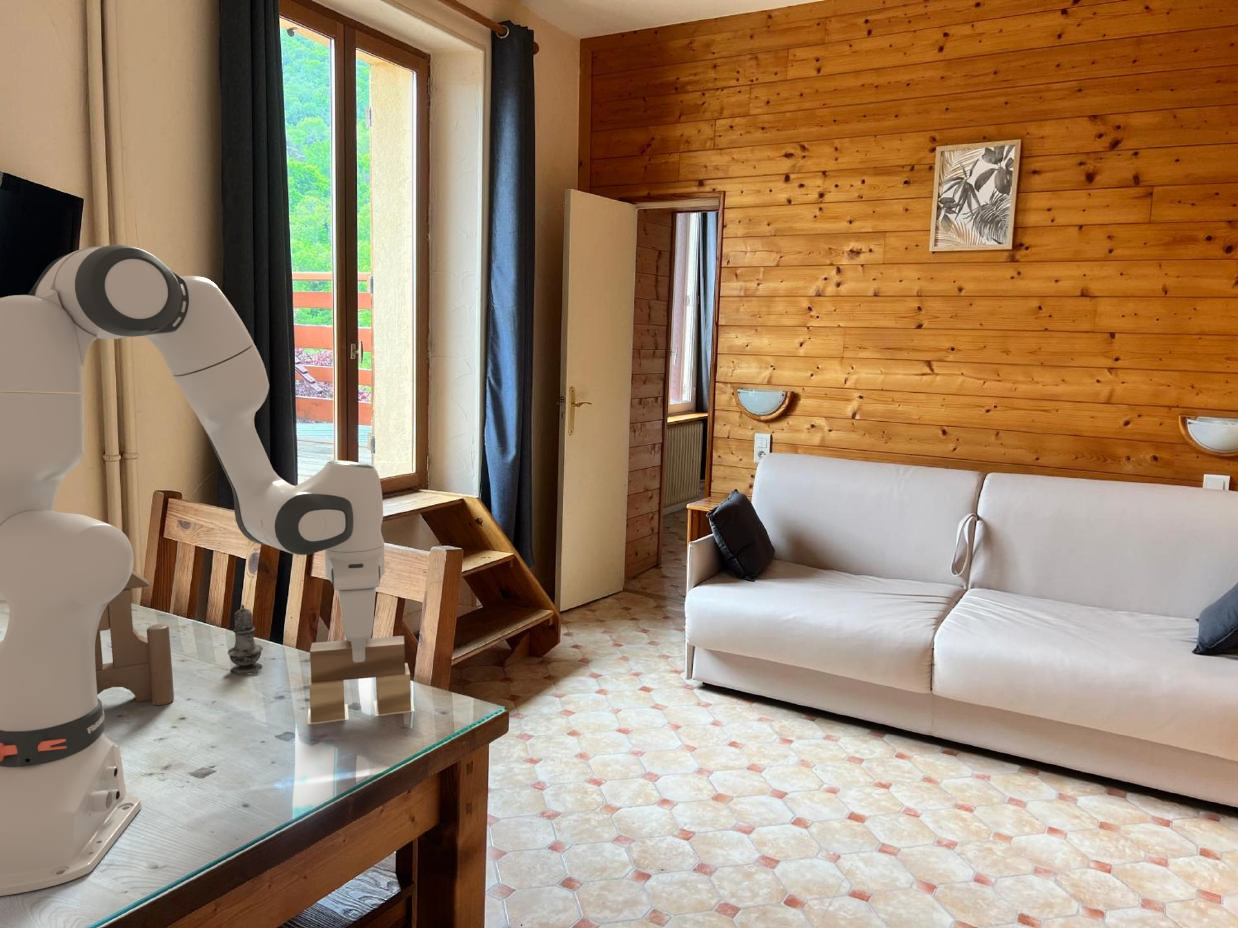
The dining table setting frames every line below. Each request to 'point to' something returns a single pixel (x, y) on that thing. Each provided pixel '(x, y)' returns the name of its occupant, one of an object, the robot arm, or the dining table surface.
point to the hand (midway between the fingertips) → (358, 650)
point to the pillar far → (394, 693)
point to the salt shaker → (244, 645)
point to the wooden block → (338, 662)
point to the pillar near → (326, 700)
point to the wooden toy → (134, 652)
